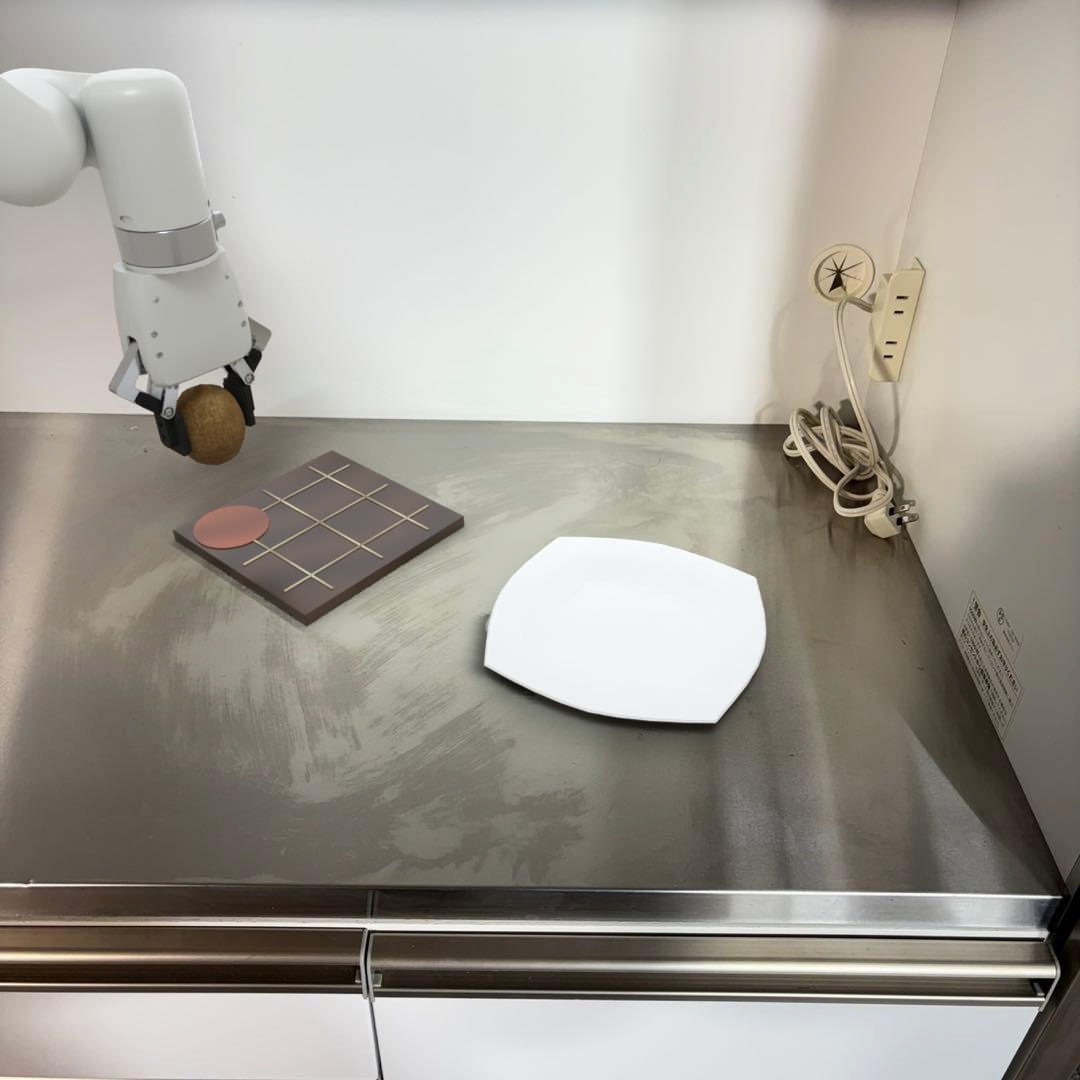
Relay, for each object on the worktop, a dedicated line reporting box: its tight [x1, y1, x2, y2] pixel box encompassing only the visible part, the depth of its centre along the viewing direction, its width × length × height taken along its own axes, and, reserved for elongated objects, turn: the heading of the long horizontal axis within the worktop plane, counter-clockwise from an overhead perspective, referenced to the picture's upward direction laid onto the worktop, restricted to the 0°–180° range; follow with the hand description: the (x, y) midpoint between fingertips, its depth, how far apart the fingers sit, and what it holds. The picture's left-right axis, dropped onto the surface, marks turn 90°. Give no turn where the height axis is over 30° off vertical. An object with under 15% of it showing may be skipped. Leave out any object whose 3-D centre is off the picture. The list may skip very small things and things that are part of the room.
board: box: [172, 449, 465, 627], centre depth 95 cm, size 20×20×1 cm
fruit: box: [176, 383, 247, 466], centre depth 88 cm, size 6×6×8 cm
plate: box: [483, 536, 767, 725], centre depth 83 cm, size 23×23×2 cm
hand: (211, 434), depth 88 cm, fingers closed on fruit, 6 cm apart
